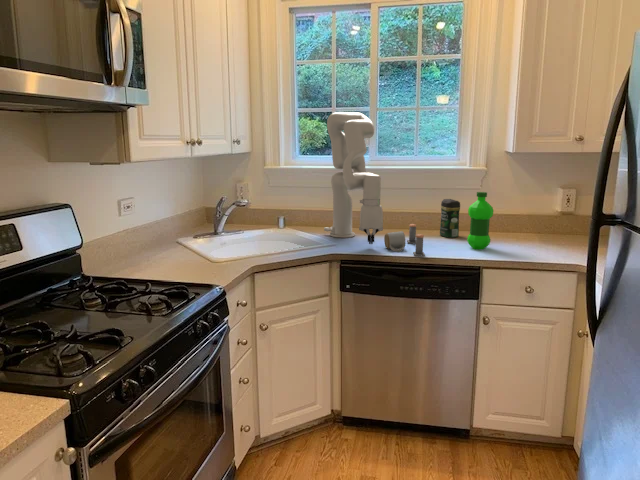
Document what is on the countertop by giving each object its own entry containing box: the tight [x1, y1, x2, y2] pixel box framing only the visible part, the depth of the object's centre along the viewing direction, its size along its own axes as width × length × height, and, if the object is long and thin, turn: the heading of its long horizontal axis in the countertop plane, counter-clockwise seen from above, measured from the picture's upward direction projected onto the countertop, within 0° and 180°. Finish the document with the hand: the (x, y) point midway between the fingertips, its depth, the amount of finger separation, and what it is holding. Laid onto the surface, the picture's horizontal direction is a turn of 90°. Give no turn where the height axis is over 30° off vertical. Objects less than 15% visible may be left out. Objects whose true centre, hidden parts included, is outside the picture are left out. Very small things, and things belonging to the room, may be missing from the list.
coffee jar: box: [439, 198, 461, 239], centre depth 245 cm, size 10×8×19 cm
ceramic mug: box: [383, 230, 406, 253], centre depth 219 cm, size 11×8×8 cm
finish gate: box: [406, 223, 426, 257], centre depth 220 cm, size 4×28×9 cm, turn 176°
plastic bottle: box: [466, 191, 494, 251], centre depth 219 cm, size 10×10×25 cm
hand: (370, 243), depth 222 cm, fingers closed
